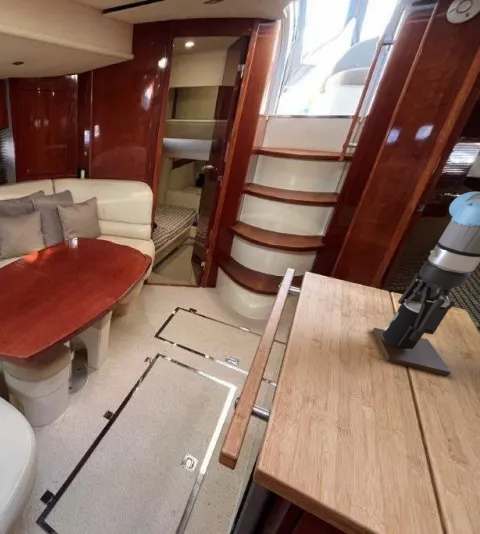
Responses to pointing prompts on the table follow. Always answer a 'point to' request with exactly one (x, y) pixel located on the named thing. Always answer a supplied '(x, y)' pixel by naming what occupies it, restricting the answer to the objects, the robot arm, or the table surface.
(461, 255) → the robot arm
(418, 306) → the beverage can
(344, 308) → the table surface
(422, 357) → the walnut board
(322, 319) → the table surface
